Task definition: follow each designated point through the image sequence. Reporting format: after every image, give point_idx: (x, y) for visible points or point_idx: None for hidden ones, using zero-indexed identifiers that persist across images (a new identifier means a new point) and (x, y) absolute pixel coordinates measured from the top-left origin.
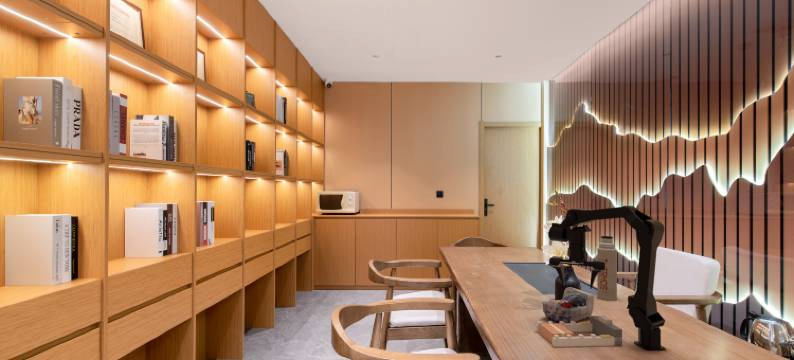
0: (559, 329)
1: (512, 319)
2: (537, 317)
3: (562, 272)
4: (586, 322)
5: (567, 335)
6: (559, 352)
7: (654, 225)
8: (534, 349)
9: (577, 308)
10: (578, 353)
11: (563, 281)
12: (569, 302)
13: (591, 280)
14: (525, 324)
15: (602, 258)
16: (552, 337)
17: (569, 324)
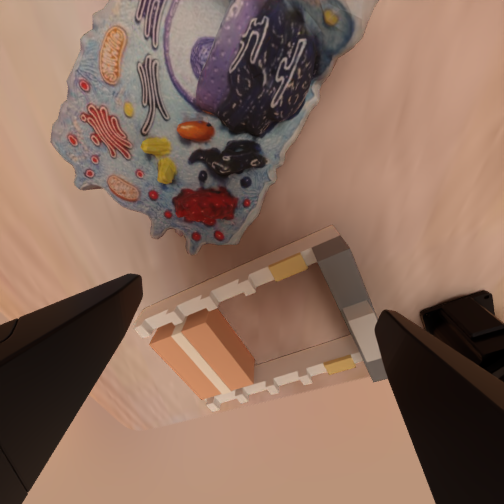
0: (213, 373)
1: (23, 217)
2: None
3: (22, 460)
4: (296, 264)
5: (238, 400)
6: (228, 406)
7: None
8: (179, 407)
9: (262, 193)
10: (265, 401)
11: (118, 339)
12: (215, 212)
13: (418, 441)
14: (91, 258)
15: None
16: (204, 399)
17: (235, 294)
